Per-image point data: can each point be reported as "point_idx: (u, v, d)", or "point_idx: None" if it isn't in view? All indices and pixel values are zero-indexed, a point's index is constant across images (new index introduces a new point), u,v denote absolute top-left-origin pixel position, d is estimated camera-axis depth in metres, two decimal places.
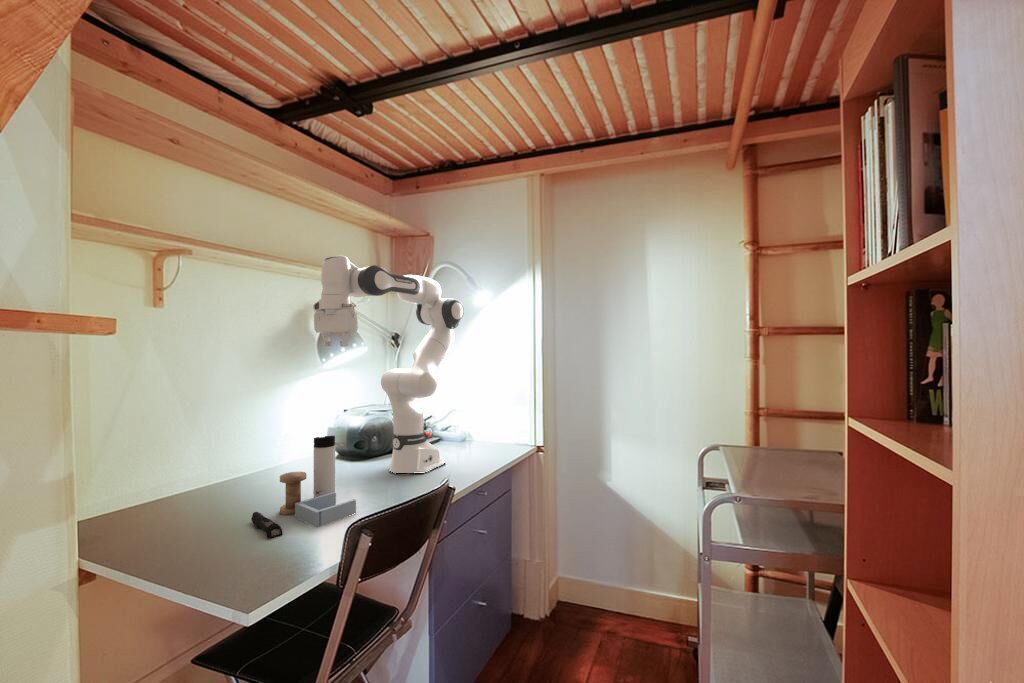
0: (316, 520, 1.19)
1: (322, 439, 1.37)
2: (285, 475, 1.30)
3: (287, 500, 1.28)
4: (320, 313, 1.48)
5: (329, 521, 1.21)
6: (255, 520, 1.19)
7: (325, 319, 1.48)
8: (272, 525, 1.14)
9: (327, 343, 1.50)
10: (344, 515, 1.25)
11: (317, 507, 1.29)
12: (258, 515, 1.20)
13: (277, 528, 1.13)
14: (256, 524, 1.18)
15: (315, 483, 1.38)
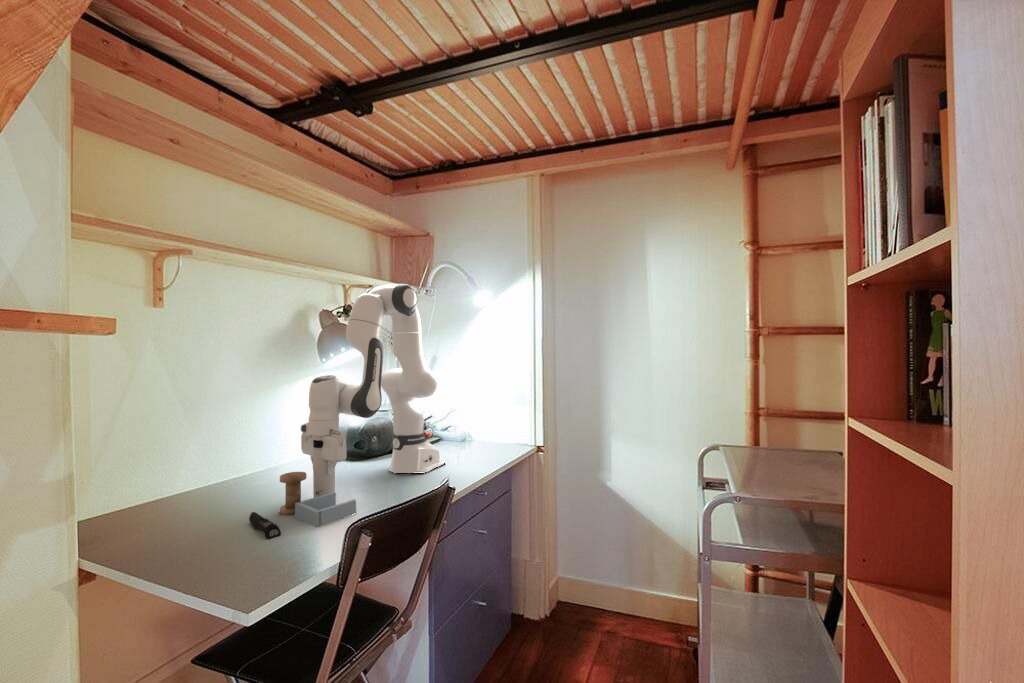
0: (316, 520, 1.19)
1: None
2: (285, 475, 1.30)
3: (287, 500, 1.28)
4: (307, 436, 1.41)
5: (329, 521, 1.21)
6: (253, 520, 1.19)
7: None
8: (270, 525, 1.13)
9: None
10: (344, 515, 1.25)
11: (317, 507, 1.29)
12: (256, 515, 1.20)
13: (275, 528, 1.13)
14: (254, 524, 1.18)
15: (315, 483, 1.38)
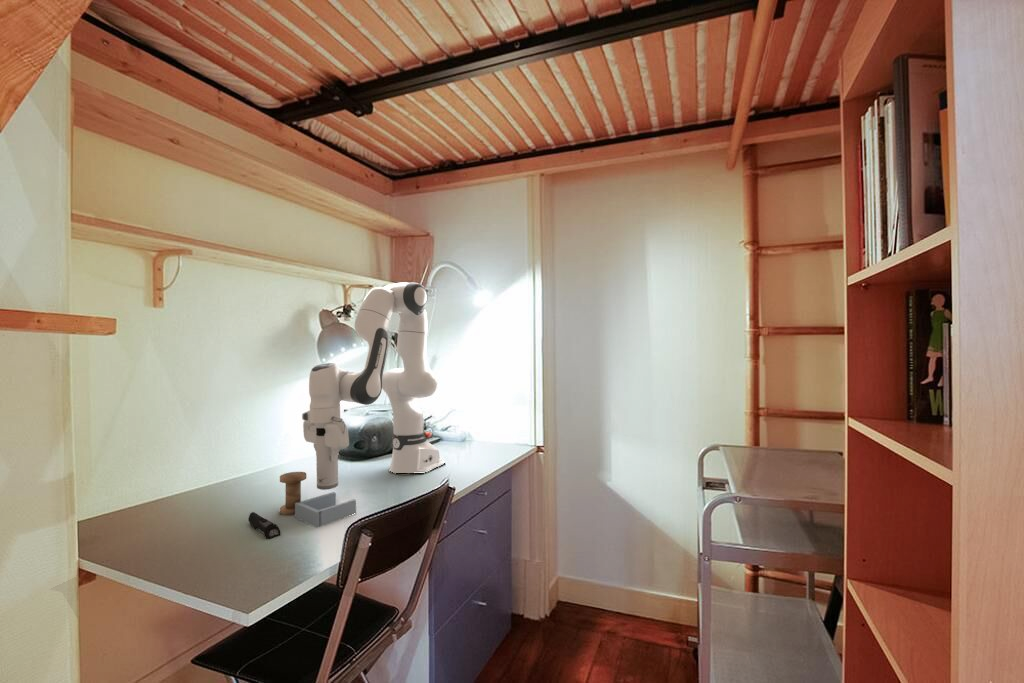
0: (316, 520, 1.19)
1: None
2: (285, 475, 1.30)
3: (287, 500, 1.28)
4: (309, 424, 1.41)
5: (329, 521, 1.21)
6: (252, 520, 1.19)
7: (315, 430, 1.41)
8: (270, 525, 1.13)
9: None
10: (344, 515, 1.25)
11: (317, 507, 1.29)
12: (255, 515, 1.20)
13: (275, 528, 1.13)
14: (253, 524, 1.18)
15: (318, 471, 1.38)
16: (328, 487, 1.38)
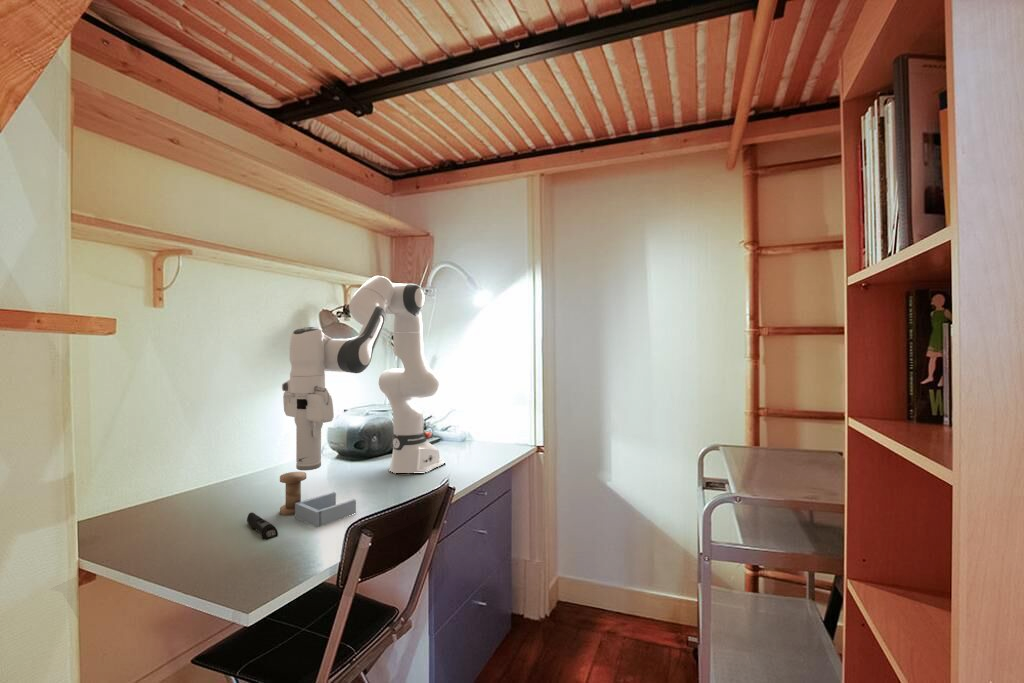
0: (316, 520, 1.19)
1: (305, 399, 1.21)
2: (285, 475, 1.30)
3: (287, 500, 1.28)
4: (290, 395, 1.25)
5: (329, 521, 1.21)
6: (250, 521, 1.19)
7: (296, 402, 1.25)
8: (267, 526, 1.13)
9: None
10: (344, 515, 1.25)
11: (317, 507, 1.29)
12: (253, 516, 1.20)
13: (272, 529, 1.13)
14: (251, 525, 1.17)
15: (298, 449, 1.22)
16: (309, 468, 1.21)
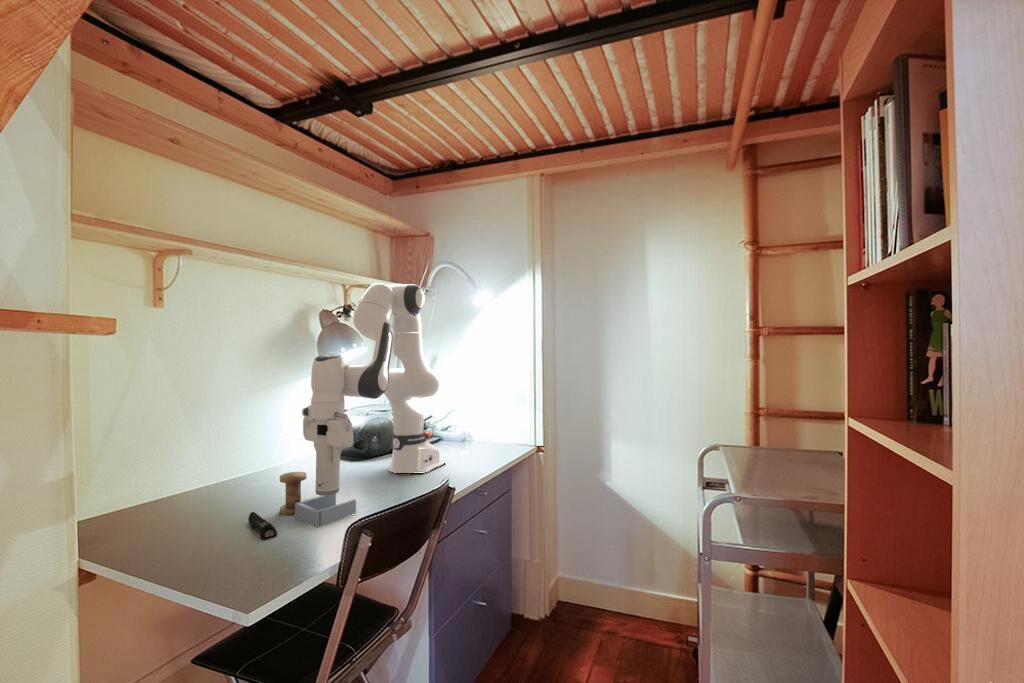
0: (316, 520, 1.19)
1: (326, 426, 1.24)
2: (285, 475, 1.30)
3: (287, 500, 1.28)
4: (310, 420, 1.28)
5: (329, 521, 1.21)
6: (251, 520, 1.19)
7: (316, 427, 1.28)
8: (266, 526, 1.13)
9: None
10: (344, 515, 1.25)
11: (317, 507, 1.29)
12: (254, 515, 1.20)
13: (271, 529, 1.13)
14: (252, 524, 1.18)
15: (317, 474, 1.25)
16: (328, 493, 1.24)
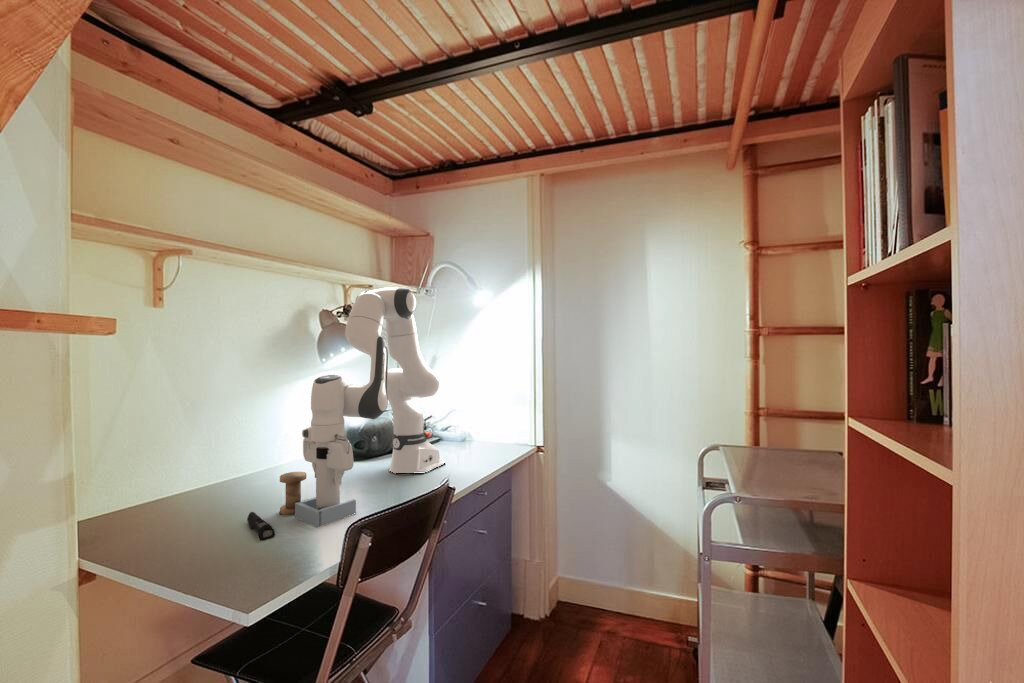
0: (316, 520, 1.19)
1: (325, 449, 1.24)
2: (285, 475, 1.30)
3: (287, 500, 1.28)
4: (310, 442, 1.28)
5: (329, 521, 1.21)
6: (250, 520, 1.19)
7: None
8: (264, 526, 1.13)
9: None
10: (344, 515, 1.25)
11: None
12: (253, 515, 1.20)
13: (269, 529, 1.13)
14: (250, 525, 1.17)
15: (317, 498, 1.25)
16: None
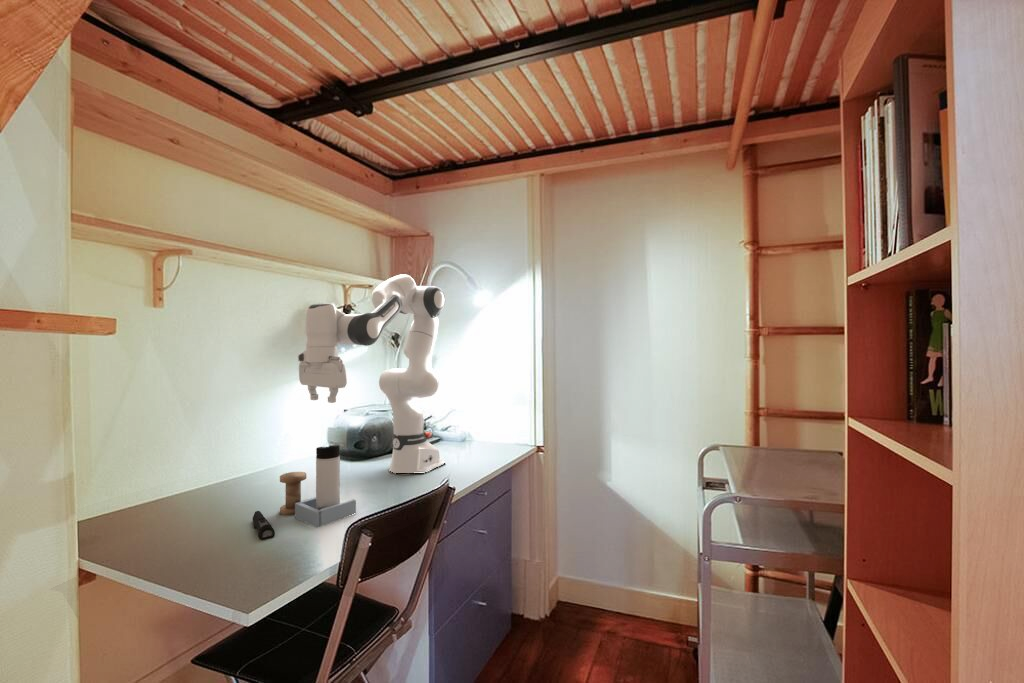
0: (316, 520, 1.19)
1: (325, 449, 1.24)
2: (285, 475, 1.30)
3: (287, 500, 1.28)
4: (305, 365, 1.37)
5: (329, 521, 1.21)
6: (254, 519, 1.20)
7: (311, 371, 1.37)
8: (265, 526, 1.13)
9: (314, 397, 1.38)
10: (344, 515, 1.25)
11: None
12: (258, 514, 1.21)
13: (269, 530, 1.13)
14: (254, 524, 1.18)
15: (317, 498, 1.25)
16: None
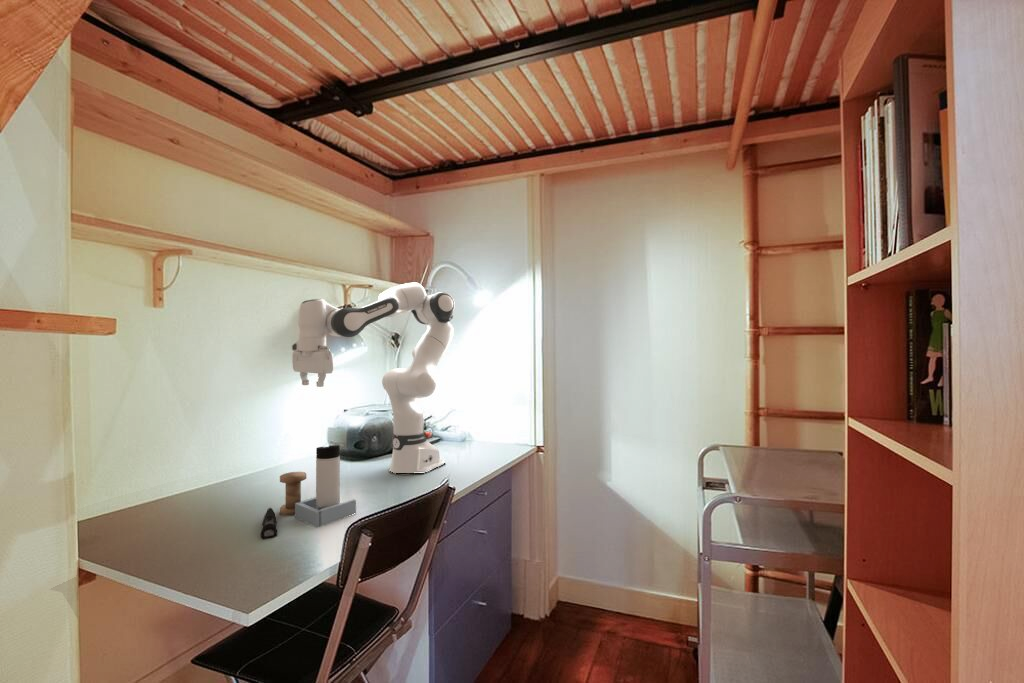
0: (316, 520, 1.19)
1: (325, 449, 1.24)
2: (285, 475, 1.30)
3: (287, 500, 1.28)
4: (298, 354, 1.55)
5: (329, 521, 1.21)
6: (264, 517, 1.21)
7: (303, 359, 1.55)
8: (267, 525, 1.13)
9: (305, 382, 1.56)
10: (344, 515, 1.25)
11: None
12: (268, 512, 1.22)
13: (271, 529, 1.13)
14: (263, 521, 1.20)
15: (317, 498, 1.25)
16: None
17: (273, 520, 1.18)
